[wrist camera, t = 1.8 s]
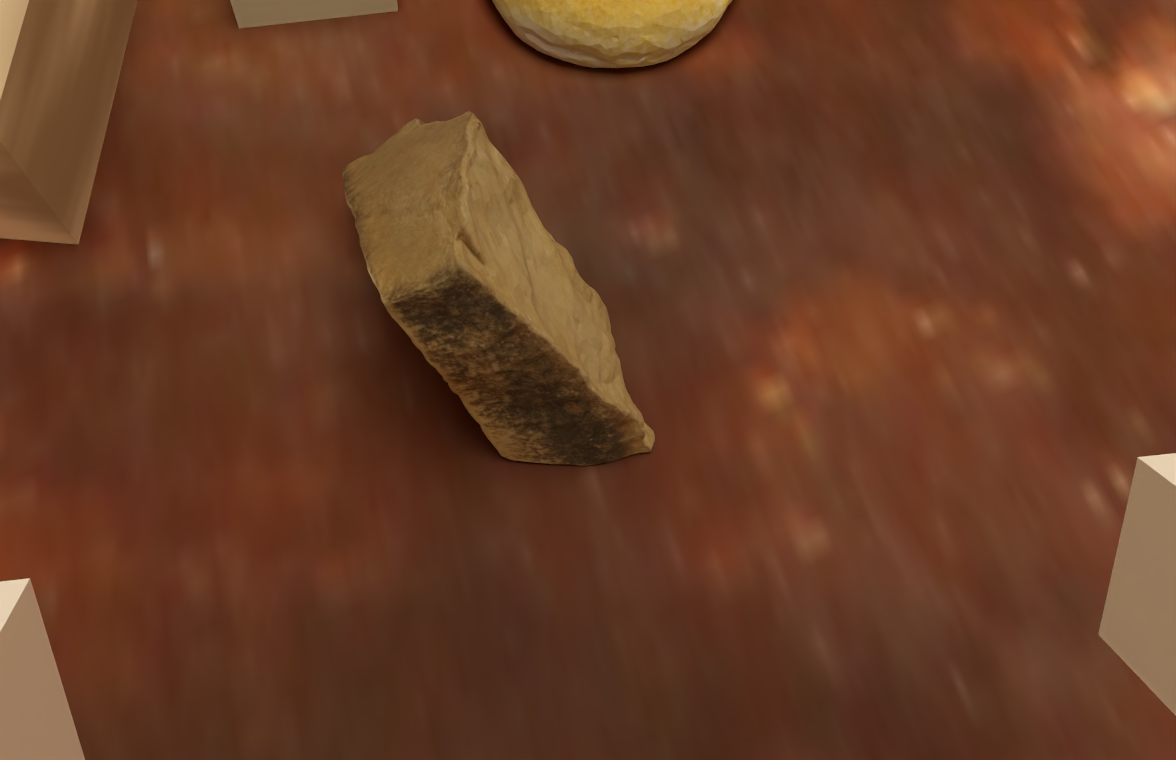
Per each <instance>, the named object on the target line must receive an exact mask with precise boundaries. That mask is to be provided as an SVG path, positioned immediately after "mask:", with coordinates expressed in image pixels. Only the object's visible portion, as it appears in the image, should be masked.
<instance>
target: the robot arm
mask: <svg viewBox="0 0 1176 760" xmlns="http://www.w3.org/2000/svg"><path fill="white" fill-rule="evenodd" d="M1098 635H1099V636H1100V637H1101V638H1102V639H1103V640H1104V641H1105V642H1106V643H1107V644H1108V645H1109V646H1110V647H1111V648H1112V649H1113V650H1114V651H1115V652H1116V653H1117V655H1118V656H1119V657H1120V658H1121V659H1122V660H1123V661H1124V662H1125V663H1126V664H1127V665H1128V666H1129V667H1130V668H1131V669H1132V670H1133V671H1134V672H1135V673H1136V674H1137V676H1138V677H1139V678H1140V679H1141V680H1142V681H1143V682H1144V683H1145V684H1146V685H1147V686H1148V687H1149V688H1150V689H1151V690H1152V691H1153V692H1154V693H1155V694H1156V695H1157V697H1158V698H1159V699H1160V700H1161V701H1162V702H1163V703H1164V704H1165V705H1166V706H1167V707H1168V708H1169V709H1170V710H1171V711H1172V712H1173V713H1174V714H1175V715H1176V453H1173V454H1164V455H1155V456H1146V457H1138V458H1137V463H1136V467H1135V472H1134V476H1133V481H1132V485H1131V490H1130V494H1129V499H1128V503H1127V508H1126V512H1125V517H1124V521H1123V526H1122V530H1121V535H1120V539H1119V544H1118V548H1117V553H1116V557H1115V562H1114V566H1113V571H1112V575H1111V580H1110V585H1109V589H1108V594H1107V598H1106V603H1105V607H1104V612H1103V616H1102V621H1101V625H1100V630H1099V634H1098ZM0 760H85V758H84V755H83V752H82V748H81V745H80V742H79V738H78V735H77V732H76V729H75V725H74V722H73V719H72V715H71V712H70V709H69V705H68V702H67V699H66V696H65V692H64V689H63V686H62V682H61V679H60V676H59V673H58V669H57V666H56V663H55V659H54V656H53V653H52V649H51V646H50V643H49V640H48V636H47V633H46V630H45V626H44V623H43V620H42V616H41V613H40V610H39V607H38V603H37V600H36V597H35V593H34V590H33V587H32V584H31V580H30V579H20V580H11V581H2V582H0Z"/></svg>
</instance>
